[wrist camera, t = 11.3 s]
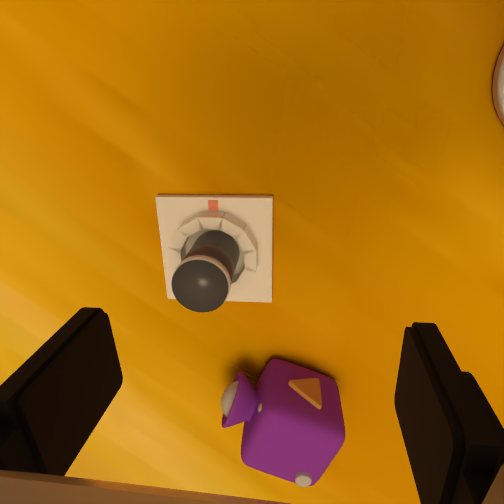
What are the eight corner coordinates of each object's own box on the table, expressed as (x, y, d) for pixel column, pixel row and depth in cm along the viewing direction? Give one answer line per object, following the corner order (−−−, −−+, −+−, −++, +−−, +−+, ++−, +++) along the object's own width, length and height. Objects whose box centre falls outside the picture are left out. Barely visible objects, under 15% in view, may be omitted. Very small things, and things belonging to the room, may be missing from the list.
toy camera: (232, 342, 45) (218, 405, 36) (342, 363, 44) (356, 432, 35) (221, 406, 49) (206, 477, 40) (321, 426, 49) (329, 502, 40)
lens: (239, 229, 38) (227, 261, 30) (241, 274, 40) (230, 314, 32) (190, 228, 38) (167, 259, 31) (194, 273, 40) (173, 312, 33)
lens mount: (272, 195, 37) (271, 203, 34) (272, 298, 42) (270, 312, 39) (158, 194, 38) (148, 202, 35) (170, 294, 43) (162, 307, 40)
